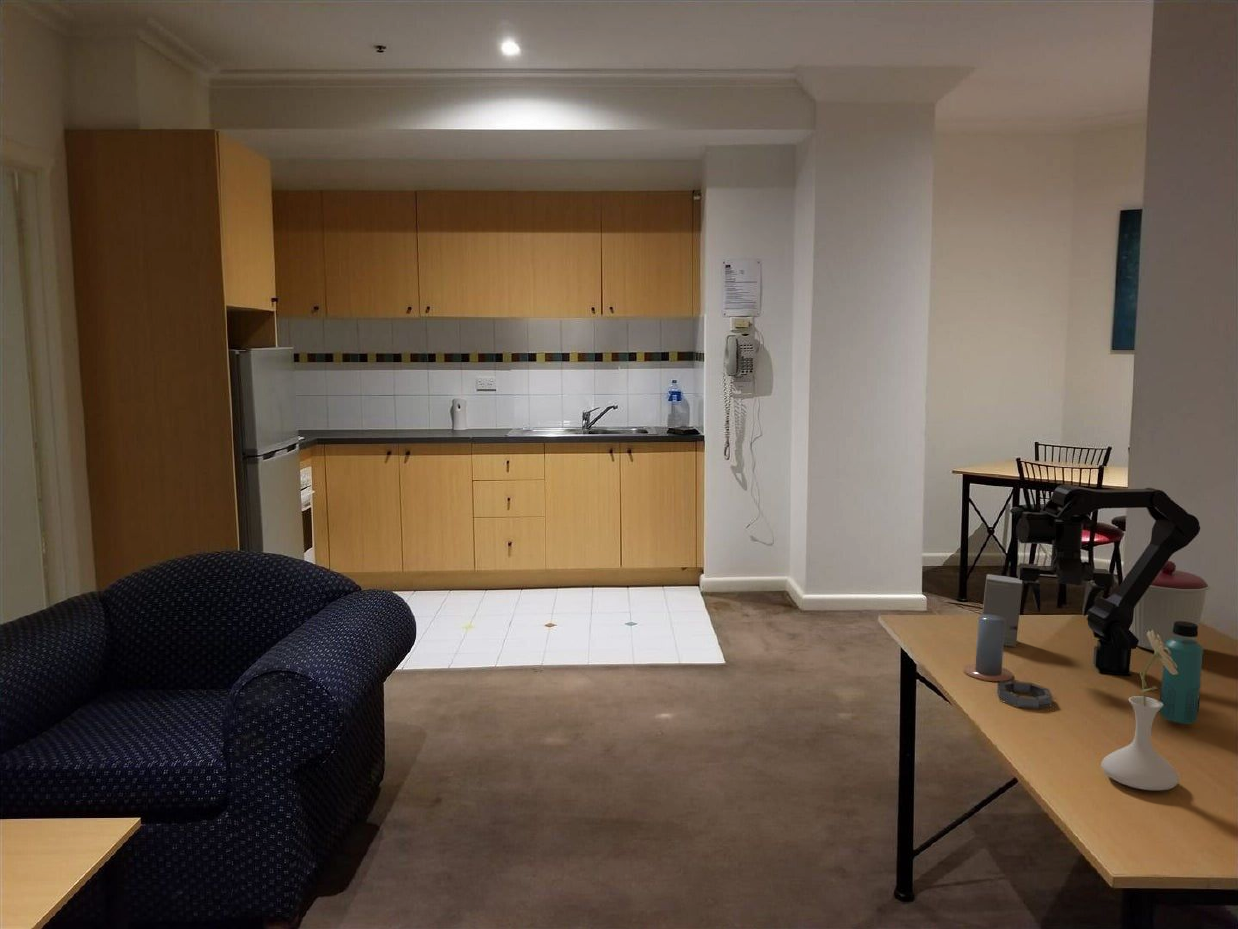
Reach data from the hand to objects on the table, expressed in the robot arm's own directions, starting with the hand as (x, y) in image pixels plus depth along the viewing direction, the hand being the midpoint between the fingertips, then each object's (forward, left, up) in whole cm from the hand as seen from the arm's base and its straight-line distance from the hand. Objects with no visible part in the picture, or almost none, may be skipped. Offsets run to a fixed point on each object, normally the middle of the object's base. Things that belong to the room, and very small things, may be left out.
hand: (1061, 613), depth 212 cm
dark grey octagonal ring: (+9, +21, -13) cm, 26 cm away
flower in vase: (-4, +54, -13) cm, 56 cm away
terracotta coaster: (+15, +7, -13) cm, 21 cm away
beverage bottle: (-17, +26, -13) cm, 34 cm away
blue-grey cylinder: (+15, +7, -12) cm, 21 cm away
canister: (-27, -26, -13) cm, 40 cm away
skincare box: (+10, -18, -13) cm, 24 cm away
